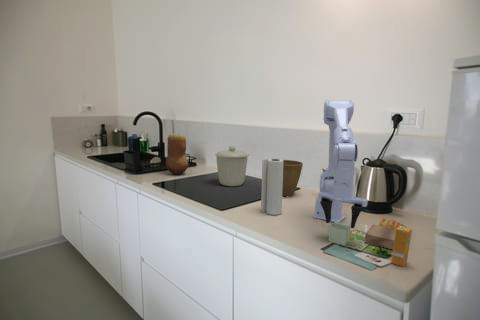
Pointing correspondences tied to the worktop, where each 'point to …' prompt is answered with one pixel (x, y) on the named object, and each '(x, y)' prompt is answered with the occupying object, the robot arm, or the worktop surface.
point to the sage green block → (339, 233)
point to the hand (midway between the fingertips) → (340, 224)
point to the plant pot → (290, 176)
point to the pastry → (389, 223)
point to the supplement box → (401, 246)
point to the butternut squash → (176, 154)
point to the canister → (231, 166)
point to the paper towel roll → (272, 186)
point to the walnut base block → (380, 236)
